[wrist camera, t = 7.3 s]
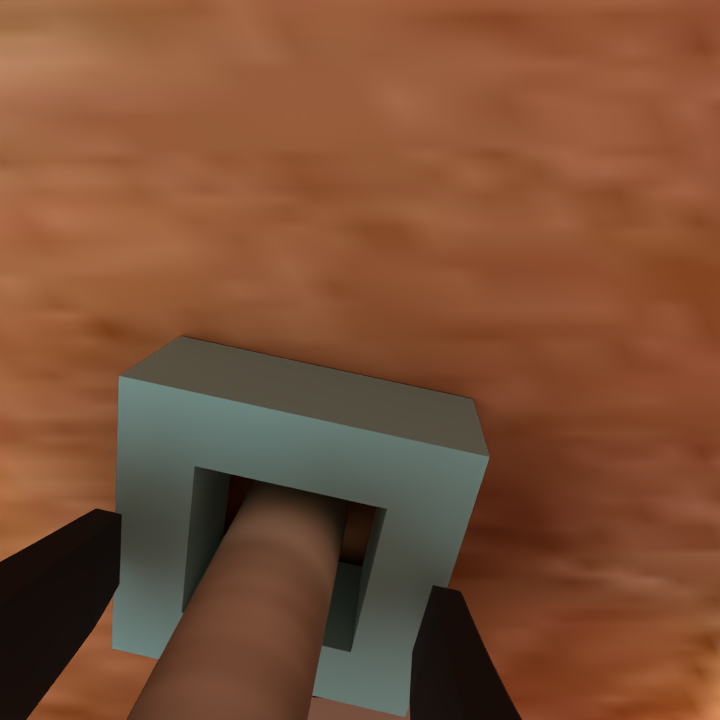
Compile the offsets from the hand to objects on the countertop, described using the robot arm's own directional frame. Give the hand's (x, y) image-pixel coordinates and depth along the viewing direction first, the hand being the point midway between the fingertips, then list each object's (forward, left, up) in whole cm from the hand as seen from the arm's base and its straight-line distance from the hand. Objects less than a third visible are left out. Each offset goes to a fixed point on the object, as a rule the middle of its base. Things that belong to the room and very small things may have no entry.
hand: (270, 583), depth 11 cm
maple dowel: (0, 0, -4) cm, 4 cm away
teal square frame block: (0, 0, -4) cm, 4 cm away
